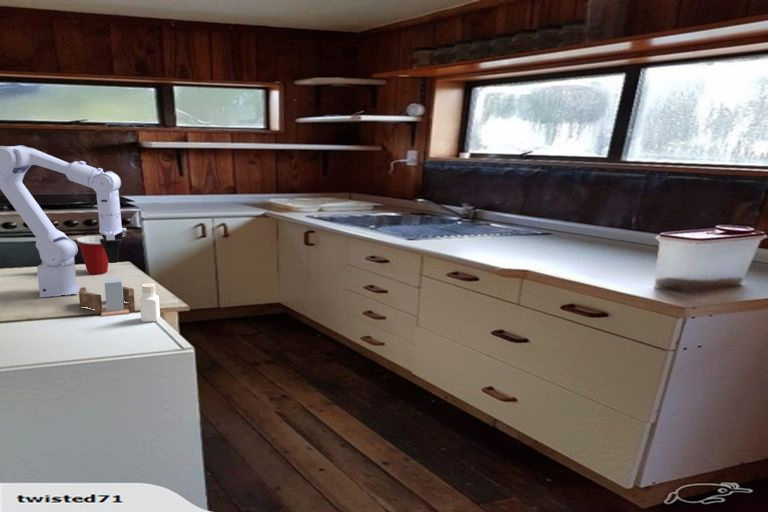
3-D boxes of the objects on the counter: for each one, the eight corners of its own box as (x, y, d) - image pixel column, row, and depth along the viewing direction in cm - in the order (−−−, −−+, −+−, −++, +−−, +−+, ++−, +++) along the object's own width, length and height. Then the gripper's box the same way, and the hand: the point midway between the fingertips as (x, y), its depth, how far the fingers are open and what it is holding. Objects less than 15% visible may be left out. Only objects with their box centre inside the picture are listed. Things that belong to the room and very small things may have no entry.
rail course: (78, 316, 135) (76, 300, 134) (82, 302, 145) (80, 287, 144) (134, 310, 140) (133, 295, 139) (134, 298, 150) (133, 283, 149)
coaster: (101, 316, 135) (101, 314, 135) (102, 309, 140) (102, 307, 140) (129, 313, 138) (128, 311, 138) (129, 306, 143) (129, 304, 143)
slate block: (107, 311, 137) (104, 283, 135) (107, 307, 140) (105, 279, 139) (123, 310, 139) (121, 281, 137) (124, 305, 142) (121, 278, 140)
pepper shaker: (157, 322, 133) (155, 287, 131) (140, 322, 132) (138, 287, 130) (160, 316, 137) (158, 282, 135) (144, 317, 136) (142, 282, 134)
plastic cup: (109, 277, 170) (106, 241, 167) (74, 277, 169) (70, 241, 166) (121, 268, 181) (118, 235, 178) (88, 268, 179) (84, 234, 176)
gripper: (124, 217, 144) (128, 264, 147) (125, 210, 157) (129, 253, 160) (95, 218, 141) (100, 266, 144) (99, 210, 154) (103, 254, 157)
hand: (113, 259), depth 152 cm, fingers open, 7 cm apart
